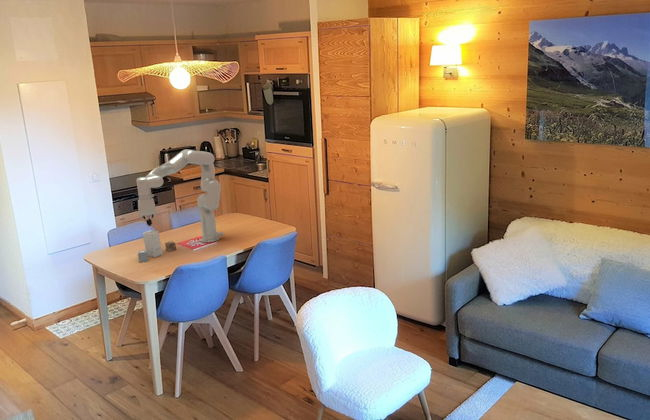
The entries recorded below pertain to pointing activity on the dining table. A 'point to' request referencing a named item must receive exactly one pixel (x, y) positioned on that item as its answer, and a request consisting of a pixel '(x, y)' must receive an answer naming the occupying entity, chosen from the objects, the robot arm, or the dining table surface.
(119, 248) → the dining table surface
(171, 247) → the walnut block dot
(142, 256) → the slate block dot
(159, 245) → the skincare box
